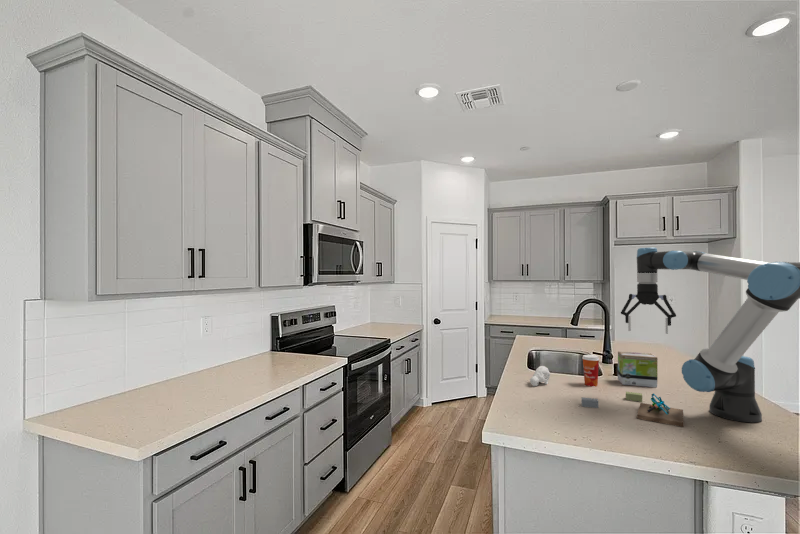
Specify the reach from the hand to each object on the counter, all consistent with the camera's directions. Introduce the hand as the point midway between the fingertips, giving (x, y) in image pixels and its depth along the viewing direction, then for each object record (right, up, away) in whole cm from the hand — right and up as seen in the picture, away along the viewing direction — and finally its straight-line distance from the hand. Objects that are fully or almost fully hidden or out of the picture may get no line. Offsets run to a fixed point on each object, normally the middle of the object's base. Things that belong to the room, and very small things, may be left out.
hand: (647, 332), depth 169 cm
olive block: (-8, -29, -2) cm, 30 cm away
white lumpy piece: (-40, -30, +21) cm, 54 cm away
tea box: (+9, -29, +22) cm, 37 cm away
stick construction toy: (-10, -27, -20) cm, 35 cm away
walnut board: (-9, -28, -21) cm, 37 cm away
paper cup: (-15, -29, +20) cm, 38 cm away
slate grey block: (-30, -29, -10) cm, 43 cm away
